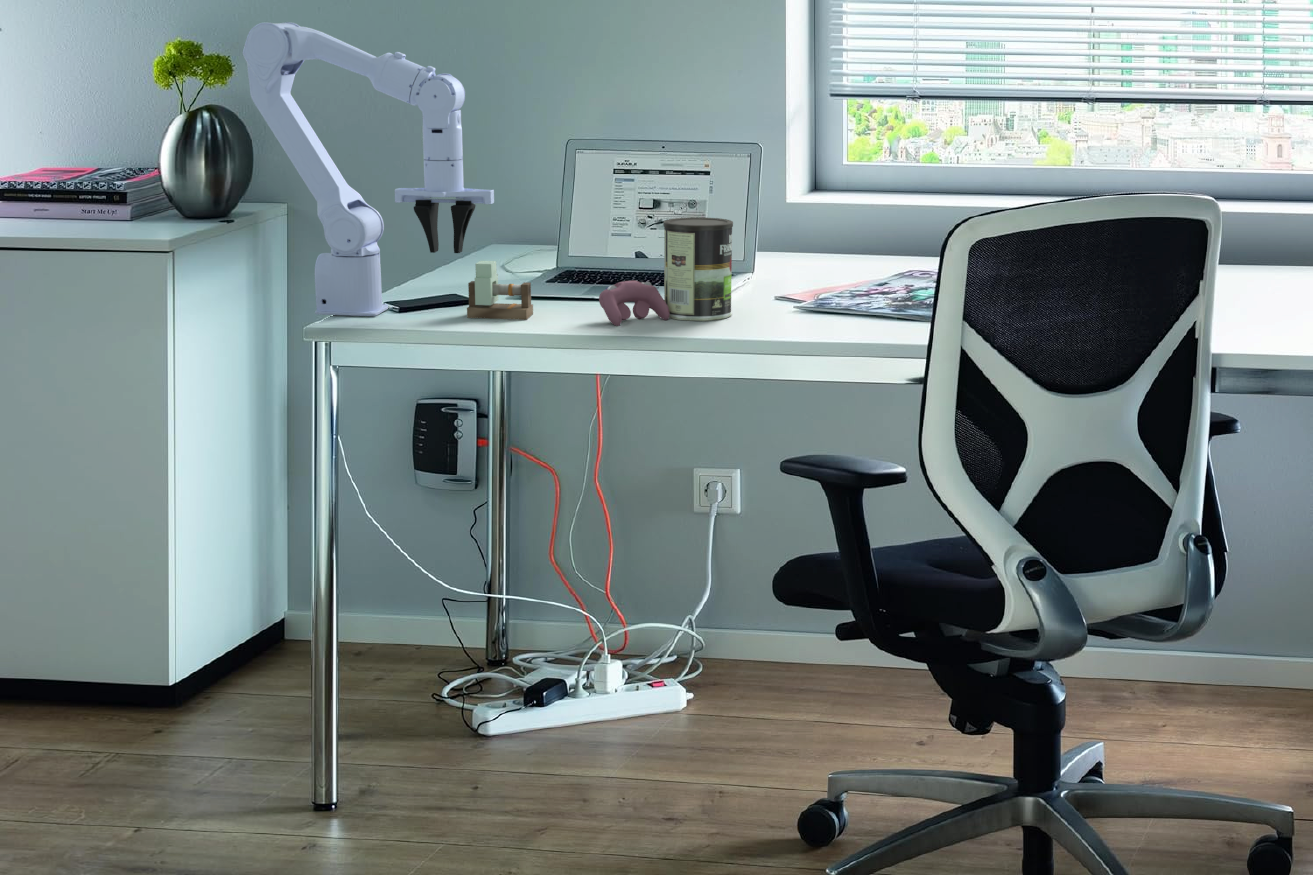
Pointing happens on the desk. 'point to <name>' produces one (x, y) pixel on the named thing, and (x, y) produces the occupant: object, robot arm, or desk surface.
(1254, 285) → the desk surface
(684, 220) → the coffee can
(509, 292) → the rod stand
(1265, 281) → the desk surface
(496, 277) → the mint green stepped block
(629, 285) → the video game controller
